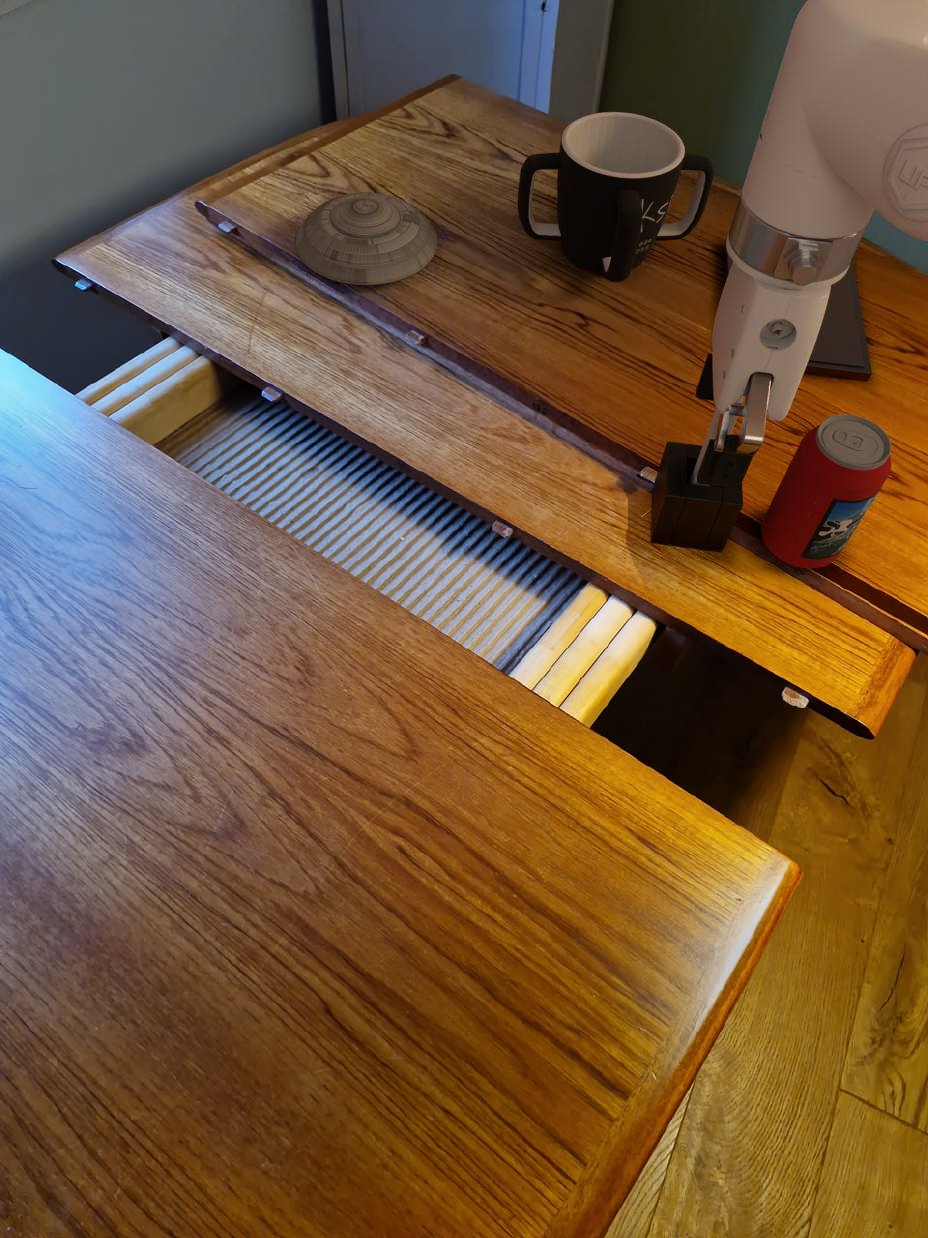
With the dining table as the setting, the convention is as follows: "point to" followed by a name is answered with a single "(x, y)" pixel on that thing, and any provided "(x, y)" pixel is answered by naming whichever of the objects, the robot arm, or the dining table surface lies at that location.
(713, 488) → the pen holder
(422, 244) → the flying saucer
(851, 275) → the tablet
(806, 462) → the beverage can
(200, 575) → the dining table surface
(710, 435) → the stylus
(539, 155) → the mug
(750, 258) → the robot arm
